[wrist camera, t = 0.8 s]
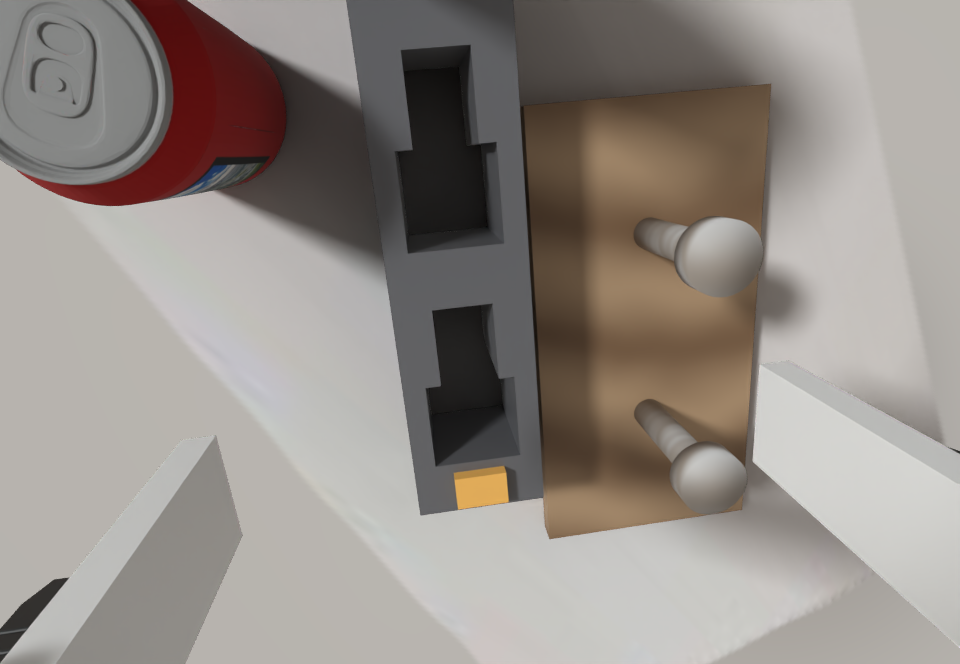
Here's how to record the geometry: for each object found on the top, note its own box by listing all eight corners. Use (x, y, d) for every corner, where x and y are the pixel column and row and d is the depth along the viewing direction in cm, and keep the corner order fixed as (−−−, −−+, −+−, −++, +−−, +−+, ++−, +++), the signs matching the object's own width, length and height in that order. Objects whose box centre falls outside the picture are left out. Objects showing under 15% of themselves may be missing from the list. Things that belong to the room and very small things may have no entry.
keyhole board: (519, 107, 27) (564, 87, 19) (756, 86, 28) (896, 59, 20) (545, 526, 34) (585, 640, 26) (731, 498, 35) (825, 600, 27)
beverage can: (124, 161, 26) (-107, 167, 14) (146, 3, 24) (-98, -134, 12) (274, 205, 27) (173, 243, 16) (305, 59, 25) (217, -19, 14)
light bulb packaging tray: (359, 25, 25) (343, -14, 19) (491, 15, 25) (514, -26, 20) (419, 456, 32) (420, 523, 26) (522, 442, 32) (546, 504, 27)
